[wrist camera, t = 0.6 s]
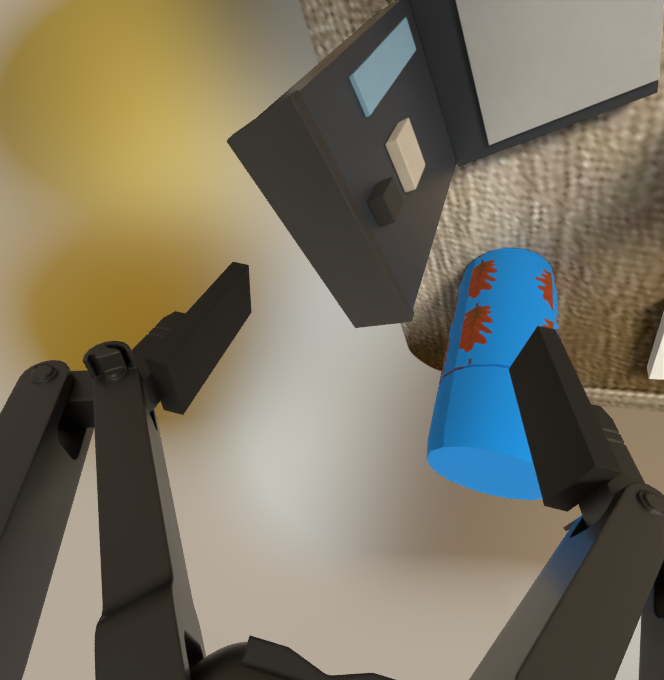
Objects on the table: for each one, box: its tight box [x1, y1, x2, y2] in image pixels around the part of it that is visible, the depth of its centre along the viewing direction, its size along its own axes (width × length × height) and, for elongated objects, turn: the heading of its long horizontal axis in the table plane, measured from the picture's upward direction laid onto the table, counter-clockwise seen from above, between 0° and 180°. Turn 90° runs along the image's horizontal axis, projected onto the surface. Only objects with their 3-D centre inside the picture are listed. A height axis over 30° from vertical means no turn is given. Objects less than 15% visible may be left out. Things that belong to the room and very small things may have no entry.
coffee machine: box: [227, 0, 664, 328], centre depth 20 cm, size 18×14×23 cm
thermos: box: [427, 248, 559, 500], centre depth 36 cm, size 11×11×25 cm
